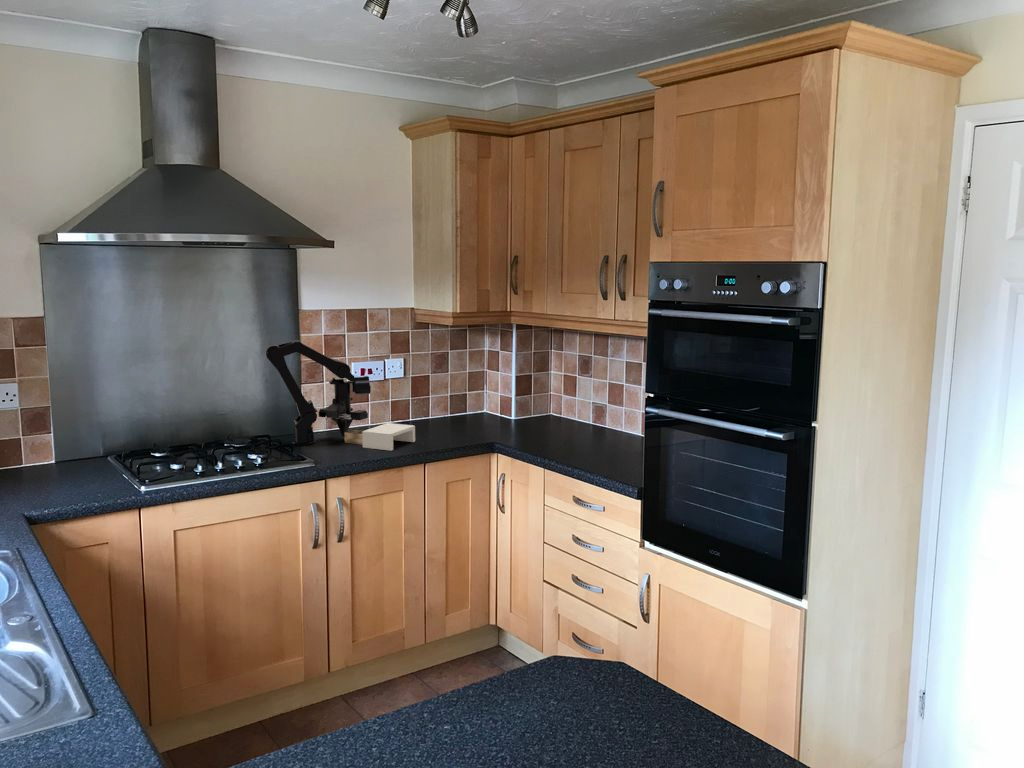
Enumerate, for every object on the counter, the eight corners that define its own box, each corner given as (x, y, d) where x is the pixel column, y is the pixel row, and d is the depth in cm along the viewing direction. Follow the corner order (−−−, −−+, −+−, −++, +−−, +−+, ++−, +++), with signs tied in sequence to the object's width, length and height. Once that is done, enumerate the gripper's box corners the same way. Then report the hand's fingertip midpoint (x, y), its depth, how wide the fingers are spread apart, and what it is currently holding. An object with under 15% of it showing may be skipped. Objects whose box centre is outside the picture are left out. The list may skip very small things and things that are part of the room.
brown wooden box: (344, 442, 311) (344, 432, 311) (354, 440, 316) (353, 429, 315) (365, 445, 306) (365, 435, 306) (375, 443, 311) (374, 432, 311)
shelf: (362, 447, 302) (362, 431, 302) (388, 438, 318) (387, 423, 317) (390, 450, 298) (390, 434, 297) (415, 441, 313) (415, 425, 312)
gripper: (308, 397, 308) (310, 438, 310) (351, 400, 301) (352, 442, 303) (326, 392, 318) (328, 432, 320) (368, 395, 311) (369, 436, 313)
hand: (343, 436), depth 314 cm, fingers closed
